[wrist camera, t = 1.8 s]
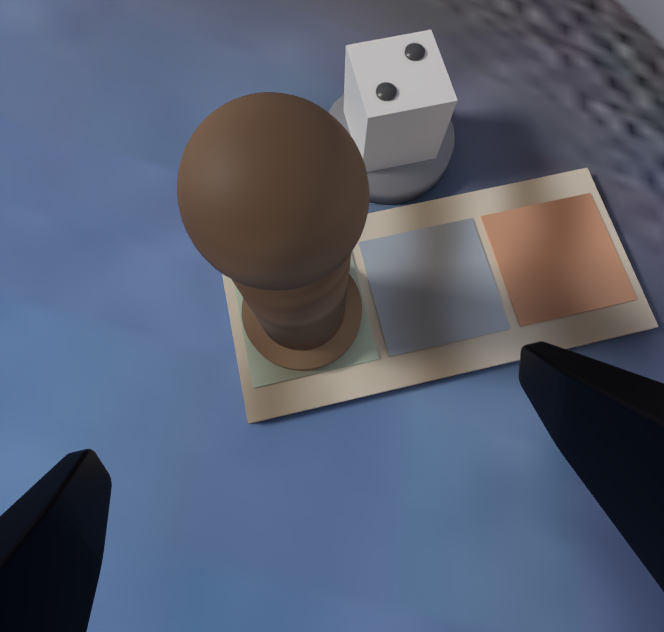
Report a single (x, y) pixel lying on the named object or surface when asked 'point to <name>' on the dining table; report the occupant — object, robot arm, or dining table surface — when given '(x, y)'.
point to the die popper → (398, 114)
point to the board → (463, 292)
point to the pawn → (280, 221)
